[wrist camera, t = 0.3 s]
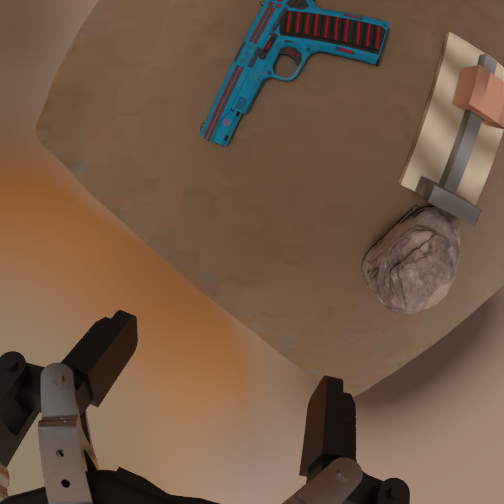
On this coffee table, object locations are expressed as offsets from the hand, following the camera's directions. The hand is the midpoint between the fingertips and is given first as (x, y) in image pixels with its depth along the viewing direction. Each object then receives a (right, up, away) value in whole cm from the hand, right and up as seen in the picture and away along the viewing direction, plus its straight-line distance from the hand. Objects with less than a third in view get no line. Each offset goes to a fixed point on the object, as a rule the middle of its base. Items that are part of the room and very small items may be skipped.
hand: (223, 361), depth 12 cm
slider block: (+27, +23, +14) cm, 38 cm away
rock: (+23, +5, +25) cm, 34 cm away
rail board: (+27, +20, +17) cm, 37 cm away
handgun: (+6, +25, +20) cm, 32 cm away
